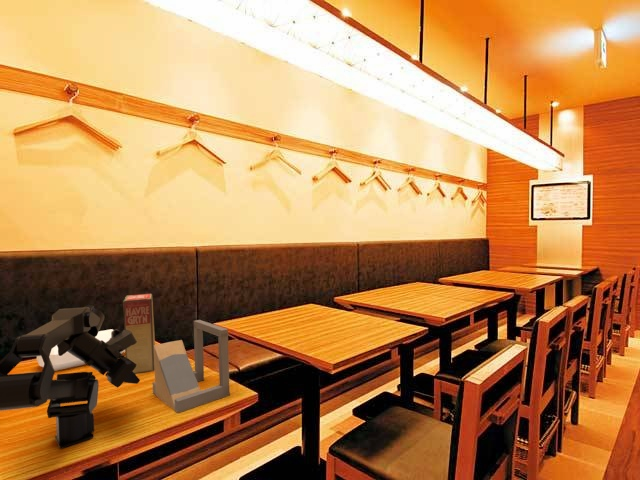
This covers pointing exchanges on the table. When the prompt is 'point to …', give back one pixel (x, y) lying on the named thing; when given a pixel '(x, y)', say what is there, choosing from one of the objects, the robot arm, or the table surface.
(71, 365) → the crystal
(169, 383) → the sandwich container
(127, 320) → the food packaging
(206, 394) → the grey frame stand
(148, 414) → the table surface
